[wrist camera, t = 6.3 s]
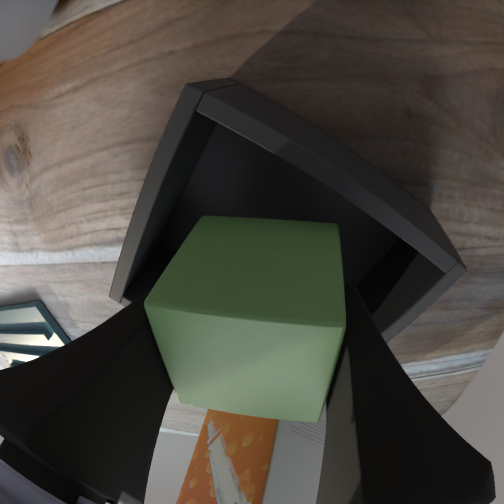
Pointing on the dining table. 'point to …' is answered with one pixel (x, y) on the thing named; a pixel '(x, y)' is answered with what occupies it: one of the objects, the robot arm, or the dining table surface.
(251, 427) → the small box
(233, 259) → the block
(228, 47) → the dining table surface
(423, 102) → the dining table surface
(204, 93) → the dark grey open tray
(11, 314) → the drainboard
